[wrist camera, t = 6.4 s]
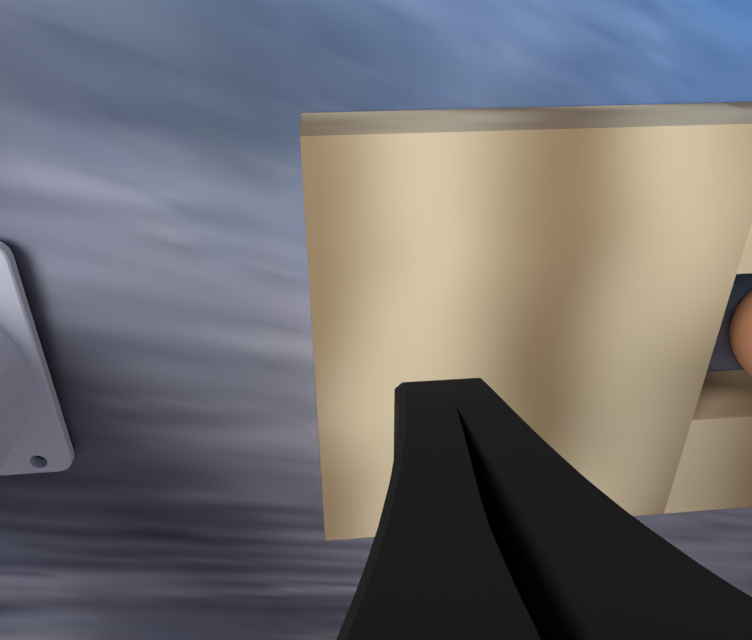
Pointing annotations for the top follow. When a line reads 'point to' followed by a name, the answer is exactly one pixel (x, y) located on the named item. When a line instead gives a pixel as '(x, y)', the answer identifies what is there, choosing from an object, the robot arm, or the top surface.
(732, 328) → the ball
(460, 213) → the beige flat board
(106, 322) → the top surface
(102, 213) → the top surface
